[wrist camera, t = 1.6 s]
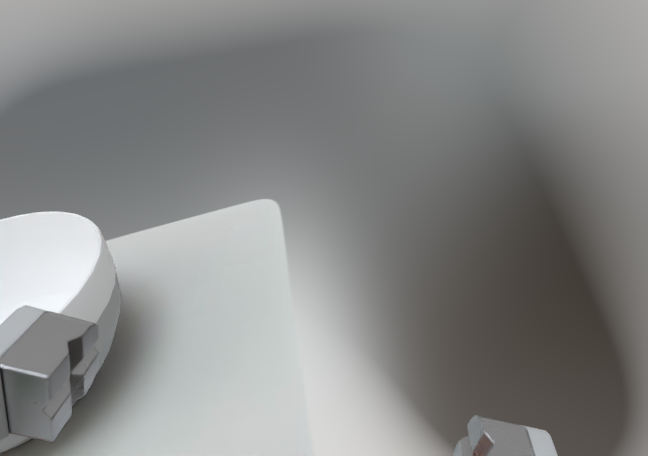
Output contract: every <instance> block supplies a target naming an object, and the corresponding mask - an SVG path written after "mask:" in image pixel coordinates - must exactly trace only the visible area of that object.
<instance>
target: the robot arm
mask: <svg viewBox="0 0 648 456" xmlns="http://www.w3.org/2000/svg"><path fill="white" fill-rule="evenodd" d="M98 338H99V326H98V325H97V324H95V323H92V322H89V321H85V320H81V319H77V318H74V317H70V316H66V315H63V314H59V313H55V312H51V311H46V310H42V309H38V308H35V307H31V306H27V305H25V306H22V307H20V308H18V309H16V310H15V311H14V312H13V313H12V314H11V315H10V316H9V317H8V318H7V319H6V320H5V321H4V322H3V323H2V324H1V325H0V442H1V441H2V440H4V439H5V438H7V437H9V433H10V434H15V435H20V436H25V437H30V438H35V439H40V440H44V441H49V442H53V441H54V440H55V438H56V437H57V436H58V434H59V433H60V431H61V430H62V428H63V427H64V425H65V424H66V422H67V421H68V420H69V418H70V417H71V415H72V404H71V403H73V402H75V401H77V400H79V399H81V398H83V397H84V396H85V394H86V393H87V391H88V390H89V388H90V387H91V385H92V383H93V380H94V378H95V375H96V373H97V369H98V365H99V352H98V351H97V349H96V348H95V347H94V344H95V342H96V341H97V340H98ZM467 428H468V433H469V435H468V436H466V437H464V438H461V439H460V440H459V442H458V444H457V446H456V448H455V450H454V454H453V456H557V453H556V450H555V447H554V445H553V442H552V439H551V436H550V435H549V434H548V433H547V432H546V431H545V430H540V429H536V428H532V427H528V426H521V425H519V424H515V423H510V422H506V421H502V420H497V419H493V418H489V417H484V416H480V415H475V416H474V417H473V418H472V419H471V420H470V422H469V424H468V425H467Z"/></svg>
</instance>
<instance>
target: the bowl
mask: <svg viewBox="0 0 648 456" xmlns="http://www.w3.org/2000/svg"><path fill="white" fill-rule="evenodd" d="M25 305H27V306H31V307H35V308H38V309H42V310H46V311H51V312H55V313H59V314H63V315H66V316H70V317H74V318H77V319H81V320H85V321H89V322H92V323H95V324H97V325H98V326H99V338H98V340H97V341H96V342H95V344H94V347H95V348H96V349H97V351H98V352H99V365H98V369H97V372H98V371H99V370H100V368H101V366H102V364H103V362H104V361H105V359H106V357H107V355H108V353H109V351H110V348H111V345H112V341H113V338H114V334H115V330H116V326H117V322H118V318H119V314H120V310H121V293H120V288H119V283H118V279H117V274H116V267H115V264H114V262H113V259H112V256H111V254H110V251H109V249H108V247H107V245H106V242H105V240H104V238H103V236H102V233H101V231H100V229H99V228H98V227H97V226H96V225H95V224H94V223H93V222H92V221H91V220H89V219H87V218H85V217H82V216H80V215H78V214H73V213H67V212H38V213H30V214H23V215H18V216H14V217H10V218H6V219H1V220H0V325H1V324H2V323H3V322H4V321H5V320H6V319H7V318H8V317H9V316H10V315H11V314H12V313H13V312H14V311H15V310H16V309H18V308H20V307H22V306H25ZM96 374H97V373H96ZM77 401H78V400H77ZM77 401H75V402H73V403H71V404H72V406H73V405H74V404H75V403H76V402H77ZM30 439H32V438H30V437H25V436H20V435H15V434H10V433H9V437H7V438H5V439H4V440H2V441H1V442H0V453H2V452H5V451H7V450H10V449H12V448H15V447H17V446H19V445H21V444H23V443H25V442H27V441H28V440H30Z"/></svg>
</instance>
